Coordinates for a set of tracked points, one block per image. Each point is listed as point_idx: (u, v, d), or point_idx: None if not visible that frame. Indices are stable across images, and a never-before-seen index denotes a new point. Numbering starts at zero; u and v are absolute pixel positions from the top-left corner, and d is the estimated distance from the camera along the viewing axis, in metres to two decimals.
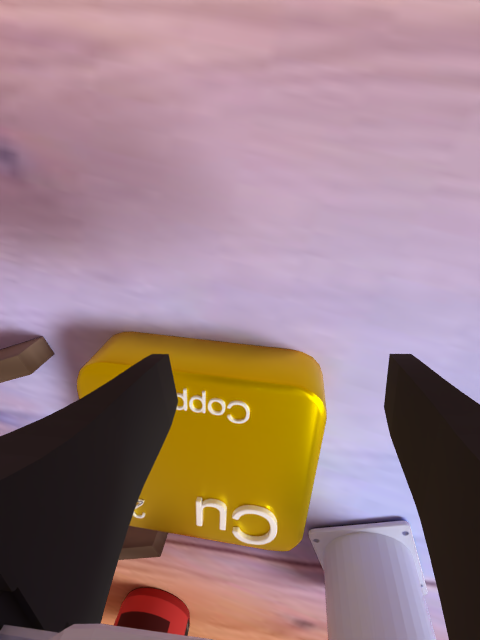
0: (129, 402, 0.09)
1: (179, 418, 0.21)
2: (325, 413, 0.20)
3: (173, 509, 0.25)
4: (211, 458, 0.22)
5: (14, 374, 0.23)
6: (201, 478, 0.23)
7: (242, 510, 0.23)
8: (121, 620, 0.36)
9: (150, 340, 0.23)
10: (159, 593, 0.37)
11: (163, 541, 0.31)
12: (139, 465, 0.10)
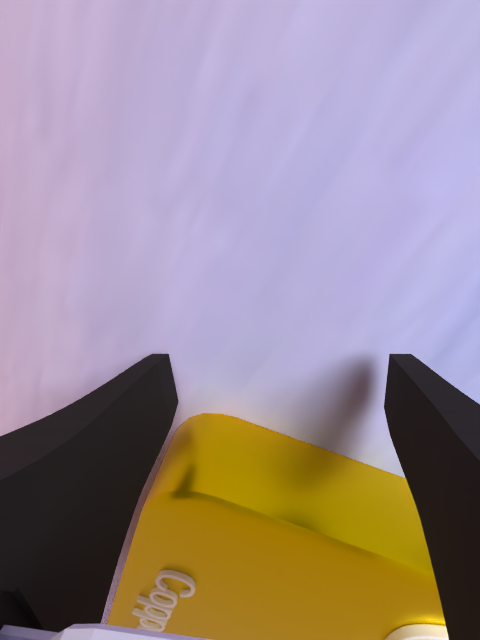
0: (129, 402, 0.09)
1: (183, 630, 0.15)
2: (201, 492, 0.11)
3: None
4: (265, 633, 0.14)
5: None
6: None
7: None
8: None
9: None
10: None
11: None
12: (139, 465, 0.10)
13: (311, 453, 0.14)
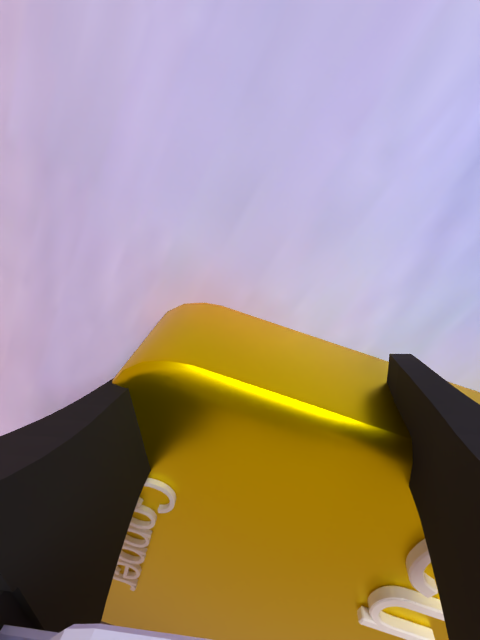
0: (129, 402, 0.09)
1: (166, 563, 0.13)
2: (173, 362, 0.09)
3: None
4: (261, 559, 0.12)
5: None
6: (311, 588, 0.12)
7: (410, 576, 0.10)
8: None
9: None
10: None
11: None
12: (139, 465, 0.10)
13: (312, 343, 0.12)
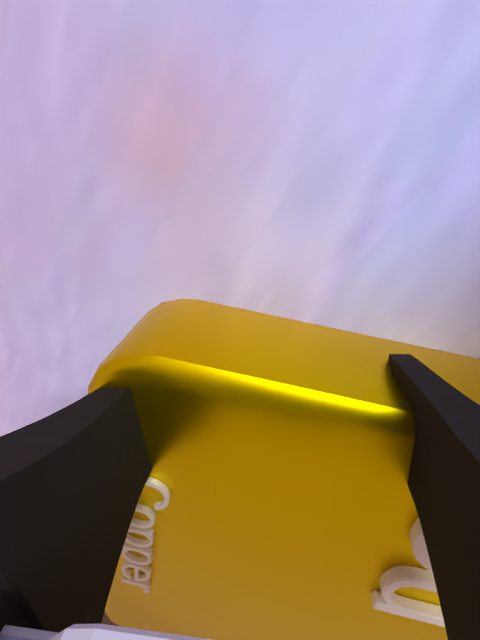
0: (130, 402, 0.09)
1: (174, 561, 0.13)
2: (143, 355, 0.09)
3: (404, 632, 0.13)
4: (265, 549, 0.12)
5: None
6: (320, 576, 0.12)
7: (414, 553, 0.10)
8: None
9: None
10: None
11: None
12: (139, 465, 0.10)
13: (291, 326, 0.12)
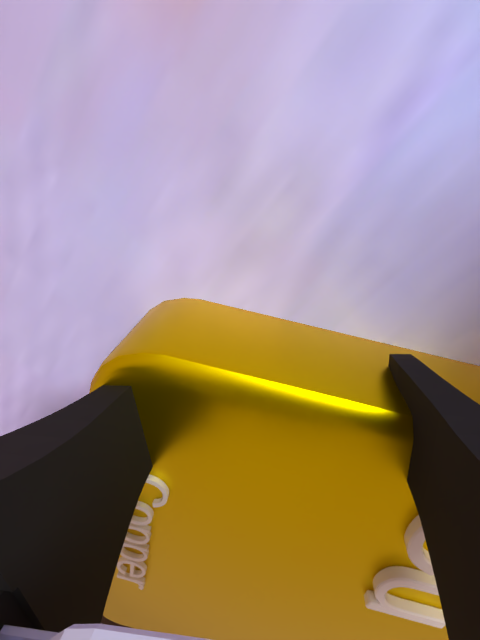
0: (129, 402, 0.09)
1: (170, 558, 0.13)
2: (147, 353, 0.09)
3: (395, 631, 0.13)
4: (261, 548, 0.12)
5: None
6: (314, 575, 0.12)
7: (409, 554, 0.10)
8: None
9: None
10: None
11: None
12: (139, 465, 0.10)
13: (292, 327, 0.12)
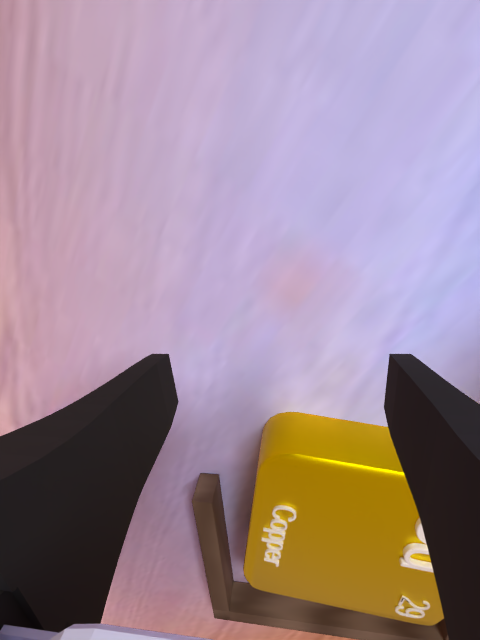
0: (129, 402, 0.09)
1: (294, 548, 0.24)
2: (288, 453, 0.21)
3: (418, 579, 0.24)
4: (343, 539, 0.23)
5: (209, 513, 0.26)
6: (372, 551, 0.23)
7: (417, 536, 0.21)
8: None
9: None
10: None
11: None
12: (139, 465, 0.10)
13: (348, 425, 0.23)
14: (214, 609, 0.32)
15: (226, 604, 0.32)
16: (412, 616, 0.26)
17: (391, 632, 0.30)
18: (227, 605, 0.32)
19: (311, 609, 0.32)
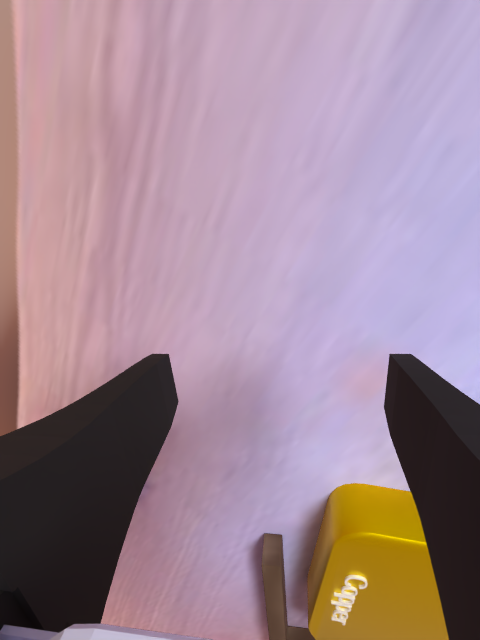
0: (129, 402, 0.09)
1: (361, 610, 0.26)
2: (364, 532, 0.23)
3: None
4: (410, 603, 0.25)
5: (277, 575, 0.28)
6: (436, 614, 0.25)
7: None
8: None
9: (310, 576, 0.31)
10: None
11: None
12: (139, 465, 0.10)
13: (412, 497, 0.25)
14: None
15: None
16: None
17: None
18: None
19: None
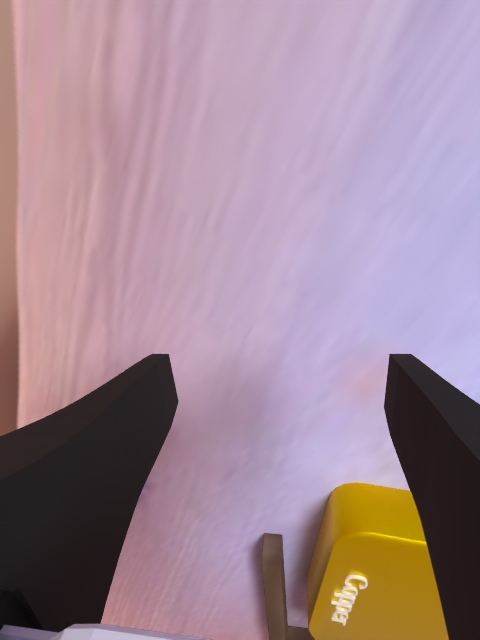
0: (129, 402, 0.09)
1: (361, 610, 0.26)
2: (365, 531, 0.23)
3: None
4: (410, 603, 0.25)
5: (277, 575, 0.28)
6: (437, 614, 0.25)
7: None
8: None
9: (310, 577, 0.30)
10: None
11: None
12: (139, 465, 0.10)
13: (412, 497, 0.25)
14: None
15: None
16: None
17: None
18: None
19: None
